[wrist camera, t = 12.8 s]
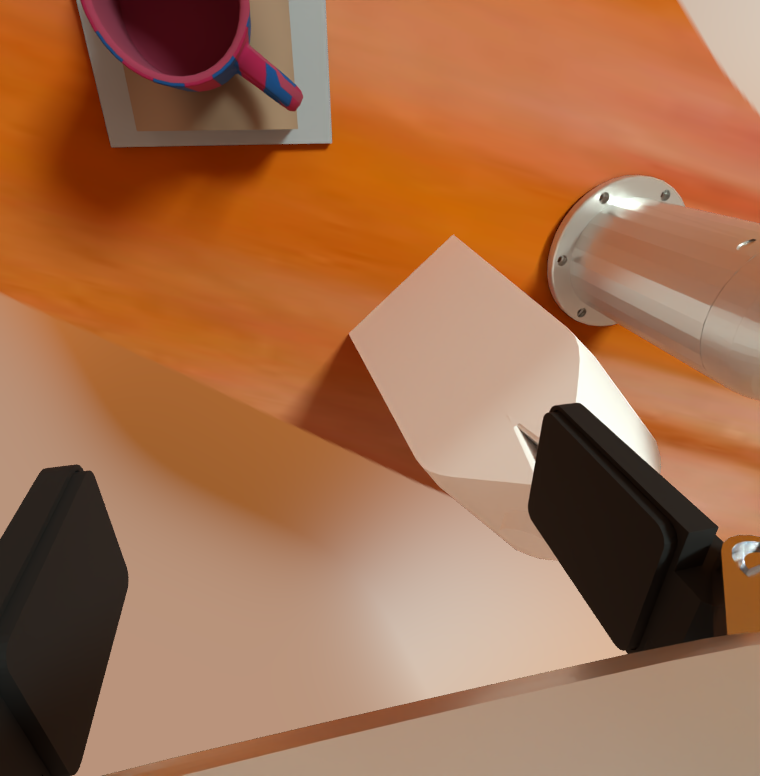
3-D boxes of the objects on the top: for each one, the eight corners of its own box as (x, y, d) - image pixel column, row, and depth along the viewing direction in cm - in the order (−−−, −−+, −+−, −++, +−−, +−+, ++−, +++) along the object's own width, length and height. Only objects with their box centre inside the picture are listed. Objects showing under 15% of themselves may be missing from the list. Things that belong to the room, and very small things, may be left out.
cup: (164, -104, 24) (135, -171, 18) (322, 68, 29) (340, 58, 23) (88, 17, 26) (39, -10, 20) (250, 162, 30) (249, 175, 25)
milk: (530, 331, 46) (791, 542, 23) (435, 414, 48) (591, 679, 26) (453, 234, 40) (702, 391, 18) (348, 333, 42) (453, 585, 20)
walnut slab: (280, -49, 29) (283, -70, 26) (293, 126, 34) (298, 129, 30) (112, -57, 28) (91, -81, 24) (149, 128, 32) (136, 131, 28)
